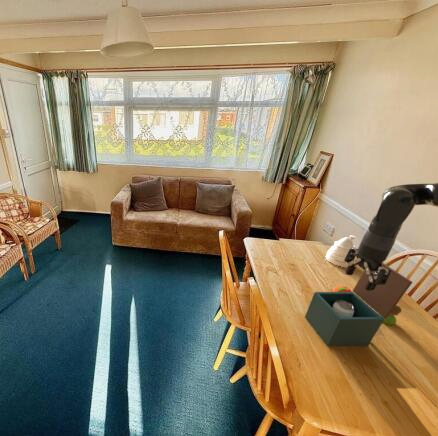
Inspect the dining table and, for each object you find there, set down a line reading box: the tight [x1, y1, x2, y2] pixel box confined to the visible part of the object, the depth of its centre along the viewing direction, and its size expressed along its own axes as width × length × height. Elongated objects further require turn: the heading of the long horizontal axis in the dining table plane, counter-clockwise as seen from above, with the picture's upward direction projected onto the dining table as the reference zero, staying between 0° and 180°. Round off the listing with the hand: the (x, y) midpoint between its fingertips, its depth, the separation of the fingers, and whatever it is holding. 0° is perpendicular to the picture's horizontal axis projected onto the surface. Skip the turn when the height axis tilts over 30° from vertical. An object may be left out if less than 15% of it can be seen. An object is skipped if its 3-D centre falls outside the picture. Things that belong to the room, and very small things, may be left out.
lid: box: [352, 262, 413, 318], centre depth 85 cm, size 17×14×1 cm
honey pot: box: [325, 234, 357, 268], centre depth 136 cm, size 13×13×18 cm
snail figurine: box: [379, 304, 402, 326], centre depth 96 cm, size 5×6×12 cm
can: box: [332, 300, 354, 317], centre depth 92 cm, size 6×6×12 cm
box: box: [304, 291, 384, 347], centre depth 92 cm, size 16×14×14 cm
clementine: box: [333, 285, 353, 292], centre depth 110 cm, size 8×7×7 cm
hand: (358, 281), depth 84 cm, fingers open, 8 cm apart
